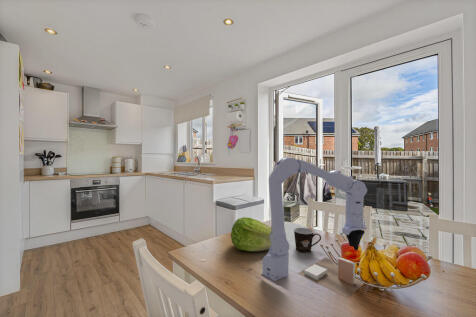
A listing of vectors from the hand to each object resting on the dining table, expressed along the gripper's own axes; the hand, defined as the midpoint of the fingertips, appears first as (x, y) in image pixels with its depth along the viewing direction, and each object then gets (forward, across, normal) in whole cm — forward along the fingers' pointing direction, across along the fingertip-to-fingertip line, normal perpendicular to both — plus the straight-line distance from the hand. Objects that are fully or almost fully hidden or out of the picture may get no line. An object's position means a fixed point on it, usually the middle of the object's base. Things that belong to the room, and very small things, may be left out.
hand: (354, 249), depth 79 cm
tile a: (+8, -7, +9) cm, 14 cm away
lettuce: (+11, -10, +40) cm, 43 cm away
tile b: (+9, -6, 0) cm, 11 cm away
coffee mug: (+11, +5, +23) cm, 25 cm away
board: (+10, -5, +4) cm, 12 cm away
